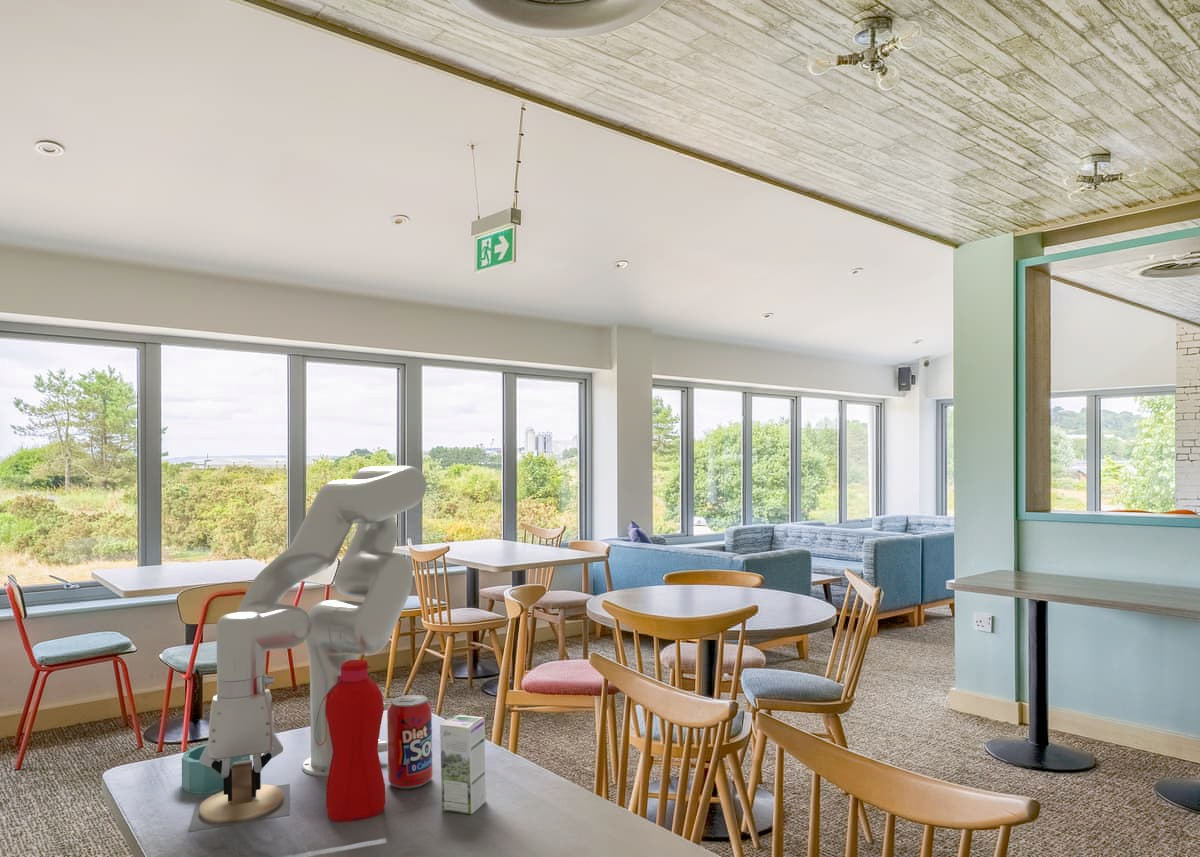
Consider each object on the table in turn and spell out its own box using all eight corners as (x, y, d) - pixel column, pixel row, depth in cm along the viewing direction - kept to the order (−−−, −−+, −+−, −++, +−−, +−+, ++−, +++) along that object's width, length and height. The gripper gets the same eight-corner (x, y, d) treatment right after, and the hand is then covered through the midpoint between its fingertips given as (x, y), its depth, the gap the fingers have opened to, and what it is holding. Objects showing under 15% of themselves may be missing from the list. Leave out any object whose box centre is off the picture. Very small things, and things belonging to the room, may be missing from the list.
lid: (284, 785, 147) (283, 745, 147) (283, 814, 134) (282, 771, 135) (203, 797, 142) (203, 756, 142) (195, 829, 130) (195, 784, 130)
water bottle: (314, 808, 138) (312, 659, 139) (381, 797, 142) (379, 652, 143) (317, 831, 129) (315, 672, 130) (388, 818, 133) (385, 664, 134)
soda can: (395, 774, 152) (394, 693, 153) (437, 774, 152) (435, 692, 152) (382, 792, 144) (381, 706, 145) (426, 791, 144) (425, 705, 144)
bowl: (251, 768, 157) (251, 737, 157) (248, 790, 146) (248, 756, 146) (186, 778, 153) (186, 745, 153) (178, 801, 142) (178, 766, 142)
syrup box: (487, 801, 139) (486, 715, 140) (471, 816, 134) (469, 726, 134) (457, 797, 141) (456, 712, 142) (440, 812, 136) (438, 723, 136)
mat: (289, 787, 147) (289, 783, 147) (289, 818, 134) (289, 814, 134) (197, 801, 142) (197, 797, 142) (187, 835, 129) (187, 831, 129)
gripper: (292, 675, 145) (293, 780, 145) (190, 686, 139) (191, 796, 139) (292, 686, 138) (294, 796, 138) (185, 698, 132) (185, 813, 132)
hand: (242, 795), depth 138 cm, fingers closed on lid, 3 cm apart
